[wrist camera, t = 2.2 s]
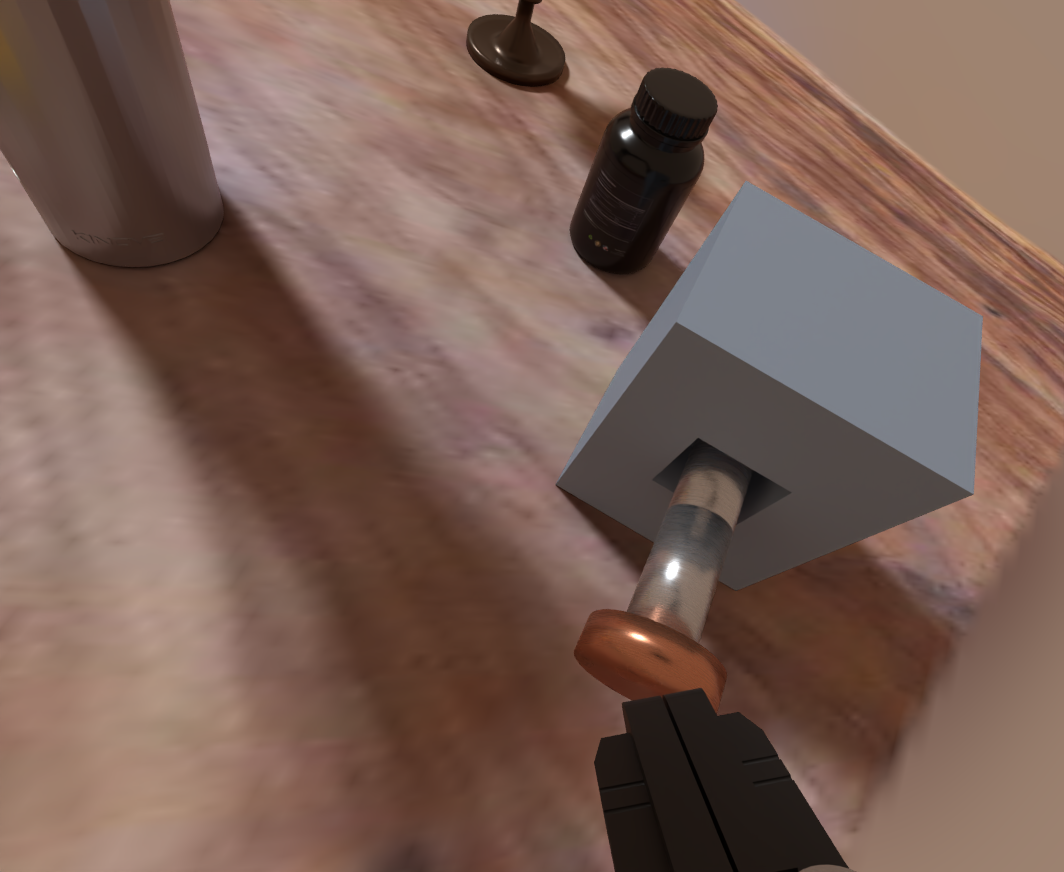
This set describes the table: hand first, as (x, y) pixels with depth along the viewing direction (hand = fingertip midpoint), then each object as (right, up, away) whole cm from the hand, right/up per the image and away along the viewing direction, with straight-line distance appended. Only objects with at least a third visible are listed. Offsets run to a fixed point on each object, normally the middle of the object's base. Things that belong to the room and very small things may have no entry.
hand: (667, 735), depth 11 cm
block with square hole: (+6, +3, +25) cm, 26 cm away
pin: (+5, +2, +19) cm, 19 cm away
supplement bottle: (+3, +20, +33) cm, 39 cm away
